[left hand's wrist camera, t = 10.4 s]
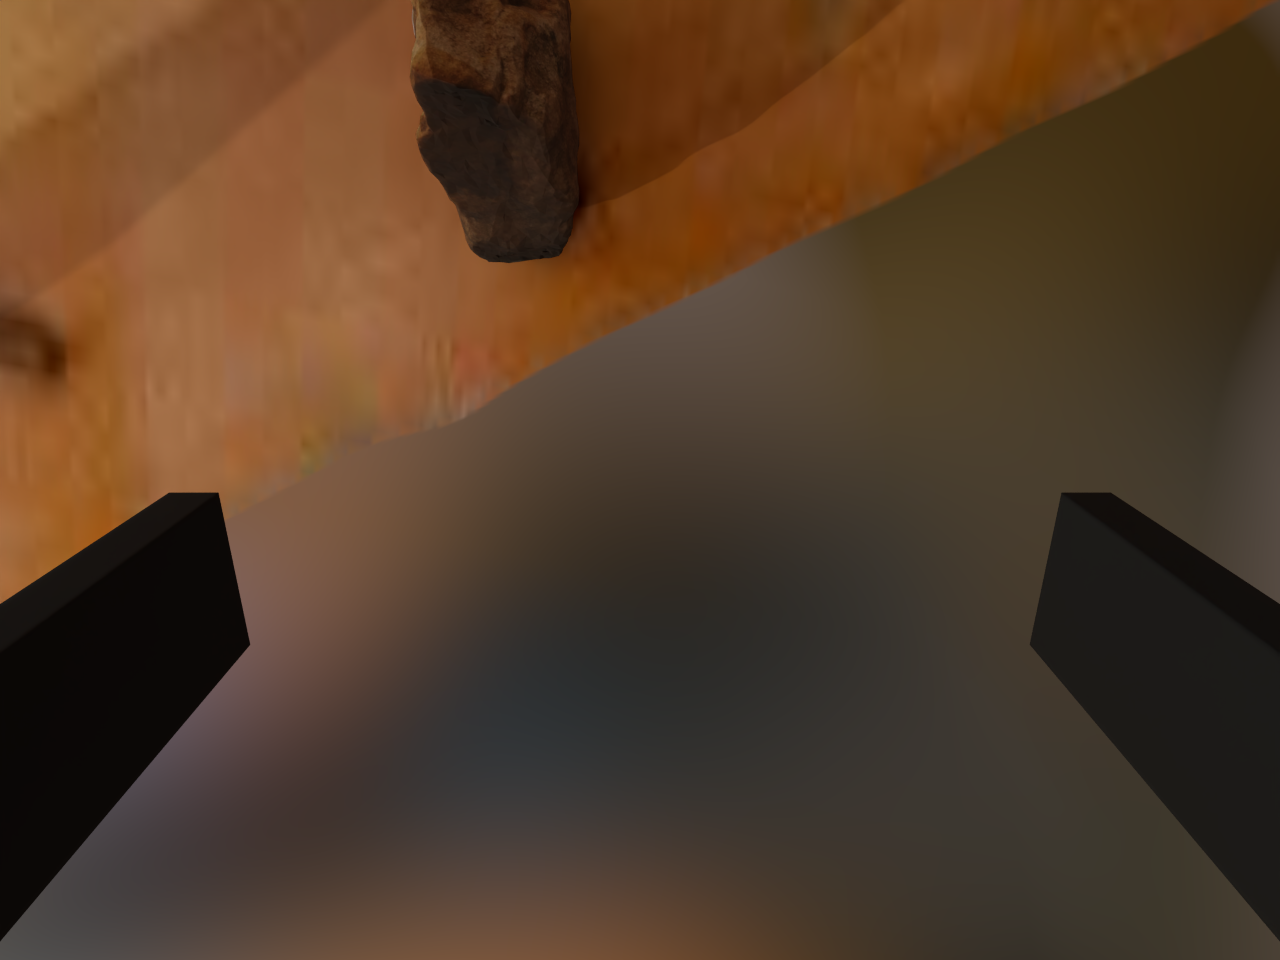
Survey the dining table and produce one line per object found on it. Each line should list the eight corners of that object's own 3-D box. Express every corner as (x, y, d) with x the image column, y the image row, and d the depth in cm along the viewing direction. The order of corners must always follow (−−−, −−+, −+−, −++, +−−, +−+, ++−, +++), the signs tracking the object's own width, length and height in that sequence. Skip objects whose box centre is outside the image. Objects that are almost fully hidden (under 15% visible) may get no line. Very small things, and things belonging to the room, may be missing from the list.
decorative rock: (450, -29, 34) (370, -119, 24) (590, -22, 34) (569, -108, 24) (461, 256, 38) (397, 283, 28) (585, 262, 38) (565, 291, 28)
